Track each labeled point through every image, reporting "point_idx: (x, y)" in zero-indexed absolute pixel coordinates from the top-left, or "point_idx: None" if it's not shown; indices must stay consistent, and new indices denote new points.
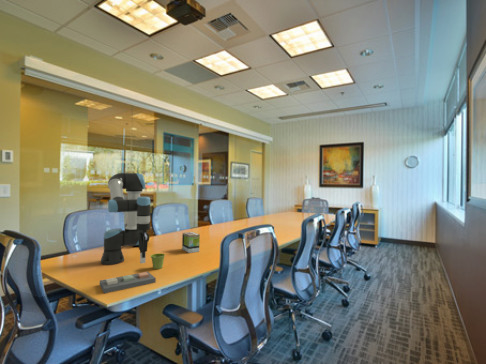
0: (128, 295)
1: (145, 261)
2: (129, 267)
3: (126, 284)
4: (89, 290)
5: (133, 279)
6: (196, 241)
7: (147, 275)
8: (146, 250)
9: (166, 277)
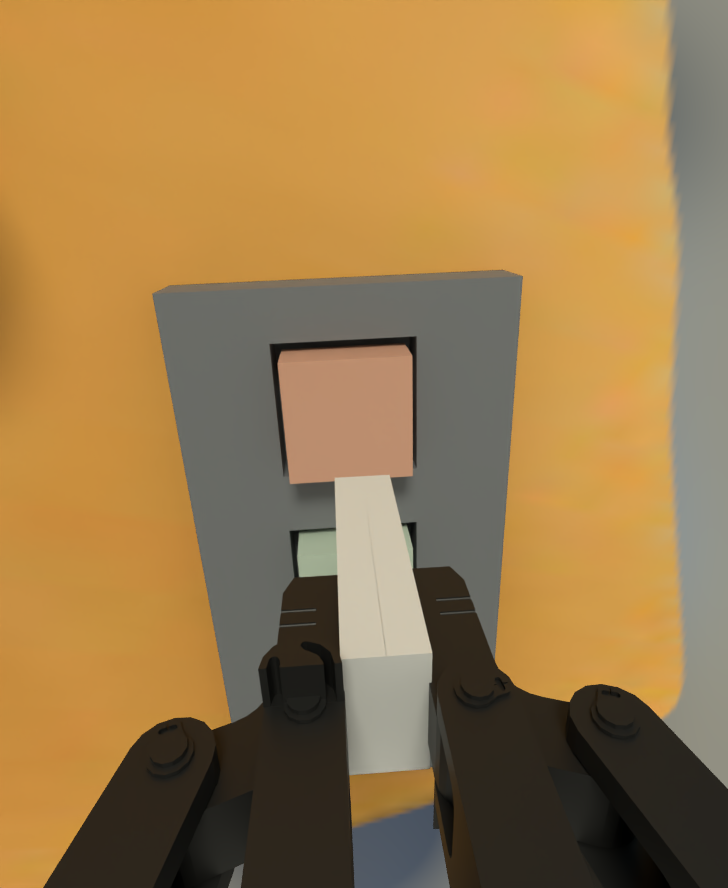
0: (653, 585)
1: (390, 487)
2: None
3: (496, 607)
4: None
5: (408, 535)
6: None
7: (410, 372)
8: (661, 737)
9: (398, 38)
